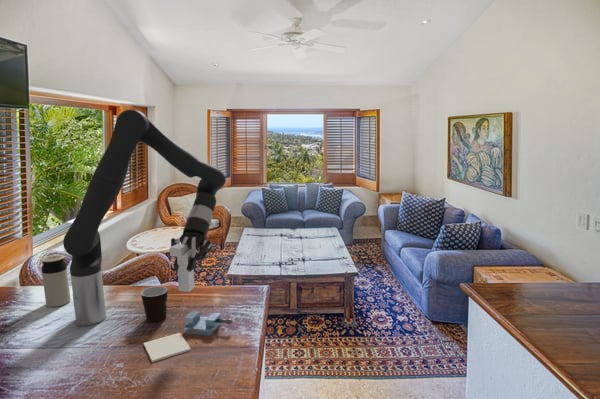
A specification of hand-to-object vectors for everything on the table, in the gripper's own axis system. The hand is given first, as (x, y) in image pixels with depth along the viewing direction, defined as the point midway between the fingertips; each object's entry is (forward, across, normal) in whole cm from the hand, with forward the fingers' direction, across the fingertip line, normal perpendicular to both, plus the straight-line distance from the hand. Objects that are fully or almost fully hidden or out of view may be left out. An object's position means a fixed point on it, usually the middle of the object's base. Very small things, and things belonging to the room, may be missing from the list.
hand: (182, 270), depth 120 cm
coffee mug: (+8, -16, +24) cm, 30 cm away
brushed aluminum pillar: (+5, 0, +5) cm, 7 cm away
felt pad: (+20, -3, +12) cm, 23 cm away
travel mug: (+6, -60, +27) cm, 66 cm away
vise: (+11, +5, +20) cm, 24 cm away
